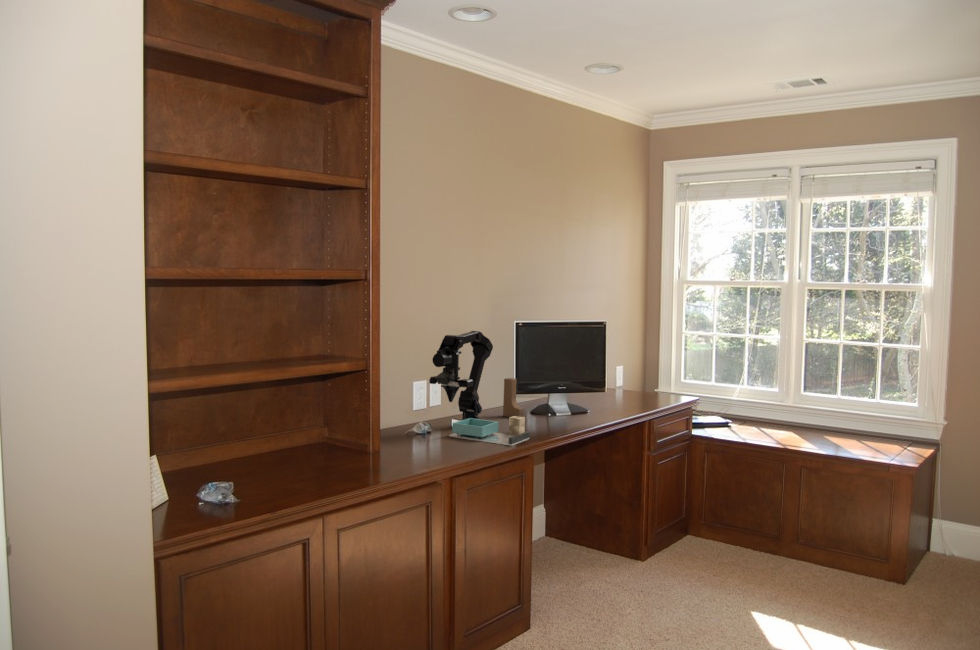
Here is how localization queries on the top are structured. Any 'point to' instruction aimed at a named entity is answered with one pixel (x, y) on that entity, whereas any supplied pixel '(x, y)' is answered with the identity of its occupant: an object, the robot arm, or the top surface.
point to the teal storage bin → (475, 427)
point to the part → (516, 425)
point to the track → (497, 438)
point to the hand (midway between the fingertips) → (450, 401)
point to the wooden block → (511, 399)
